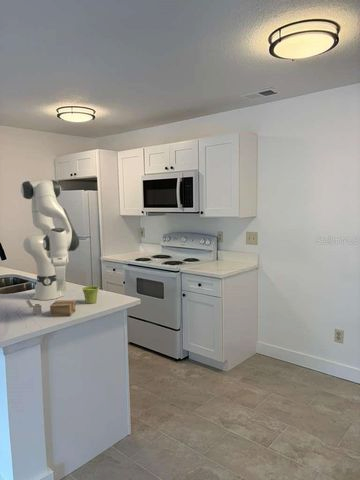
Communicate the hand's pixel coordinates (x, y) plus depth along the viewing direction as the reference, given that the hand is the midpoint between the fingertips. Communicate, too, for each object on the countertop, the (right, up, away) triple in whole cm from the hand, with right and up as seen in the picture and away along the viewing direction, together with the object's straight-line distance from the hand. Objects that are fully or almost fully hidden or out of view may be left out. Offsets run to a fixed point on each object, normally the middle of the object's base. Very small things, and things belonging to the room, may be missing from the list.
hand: (61, 285), depth 187 cm
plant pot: (+10, -13, +22) cm, 27 cm away
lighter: (-14, -15, +1) cm, 21 cm away
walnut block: (+1, -15, +1) cm, 15 cm away
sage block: (0, -2, 0) cm, 2 cm away
